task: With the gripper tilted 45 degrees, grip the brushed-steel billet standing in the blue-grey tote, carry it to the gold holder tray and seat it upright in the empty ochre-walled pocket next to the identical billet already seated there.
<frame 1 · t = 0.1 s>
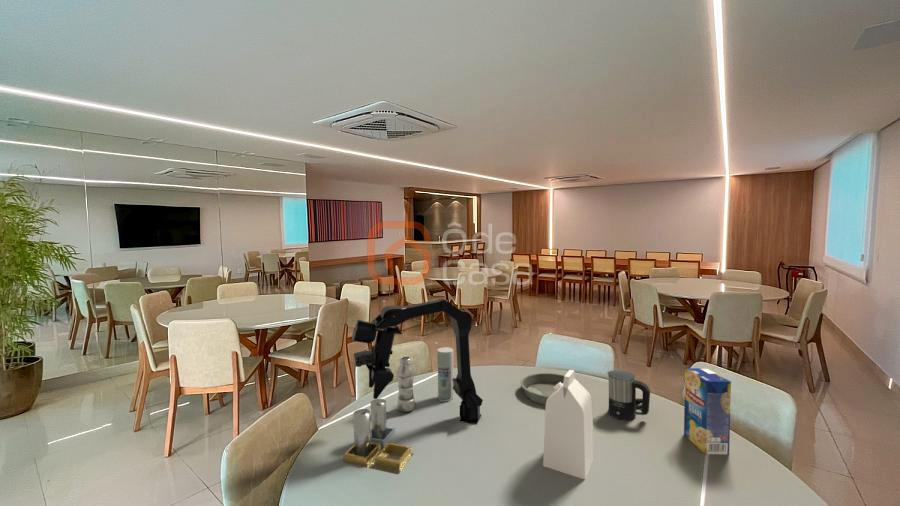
hand: (372, 392, 119), 15 cm above the table, tool pointing down, fingers open, 9 cm apart
billet: (378, 422, 118), in the tote
spray can: (446, 398, 149), on the table
blue cardboard box: (705, 444, 114), on the table
cake pan: (550, 394, 152), on the table
tote: (379, 441, 118), on the table
gold holder tray: (378, 461, 108), on the table
milk frother: (627, 411, 136), on the table
billet twin: (362, 455, 109), point 1 cm above the table, touching gold holder tray
milk: (569, 461, 107), on the table
plastic bottle: (406, 410, 139), on the table
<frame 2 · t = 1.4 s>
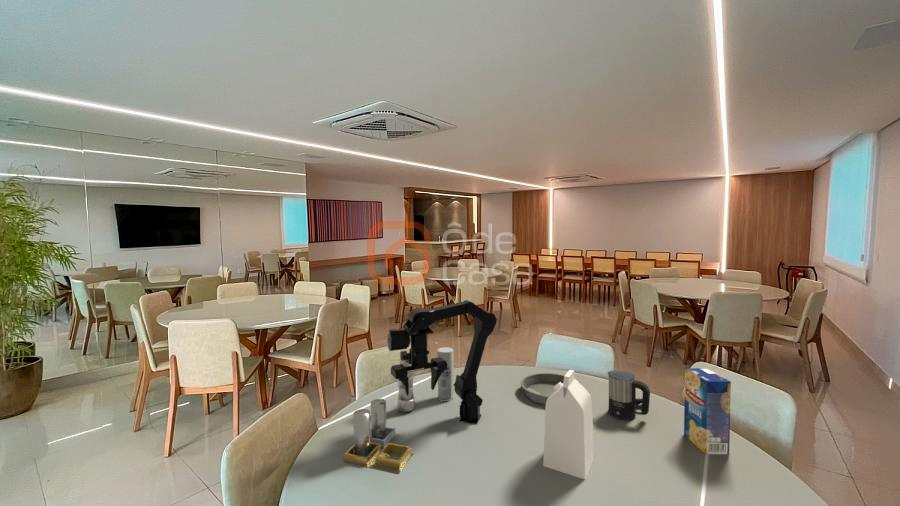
hand: (420, 392, 125), 13 cm above the table, tool pointing down, fingers open, 9 cm apart
nothing on the table moved.
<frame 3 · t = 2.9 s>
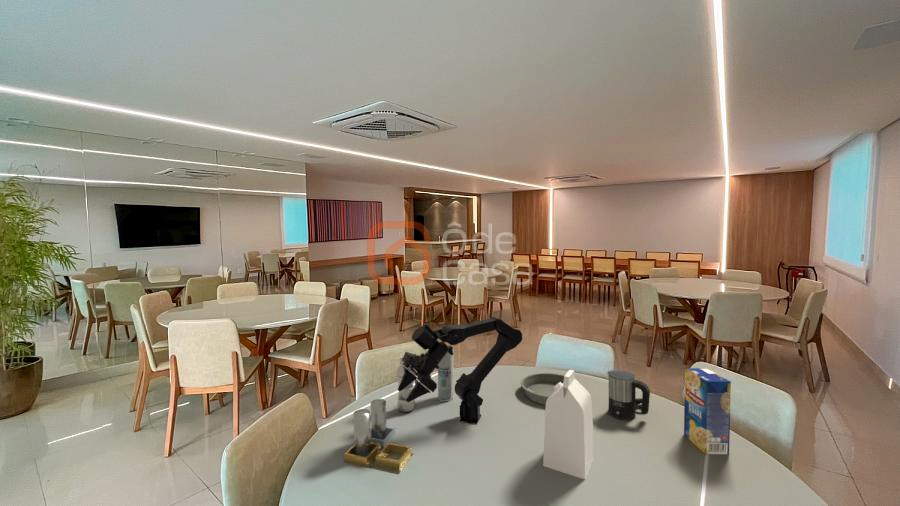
hand: (402, 395, 121), 13 cm above the table, tool tilted 45°, fingers open, 9 cm apart
nothing on the table moved.
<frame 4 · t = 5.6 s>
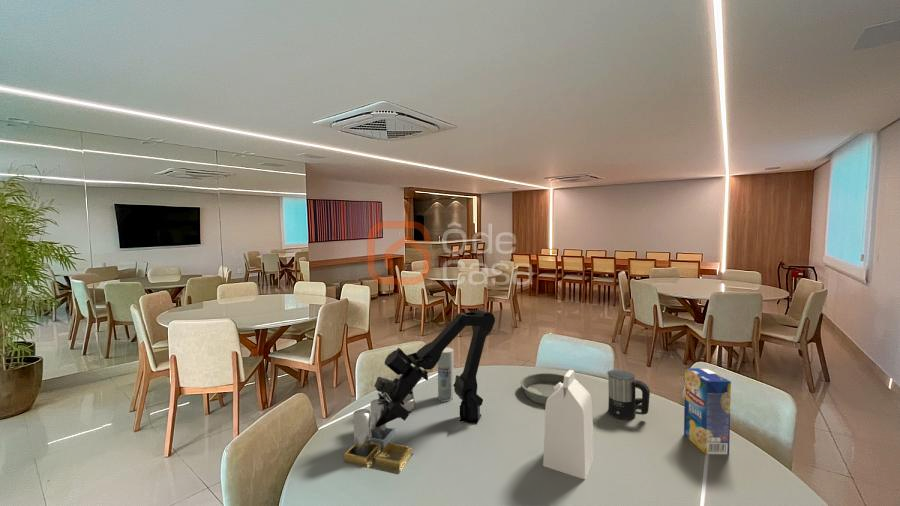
hand: (374, 422, 117), 7 cm above the table, tool tilted 45°, fingers closed on billet, 5 cm apart
billet: (378, 422, 118), in the tote, touching gripper
everything else where it was.
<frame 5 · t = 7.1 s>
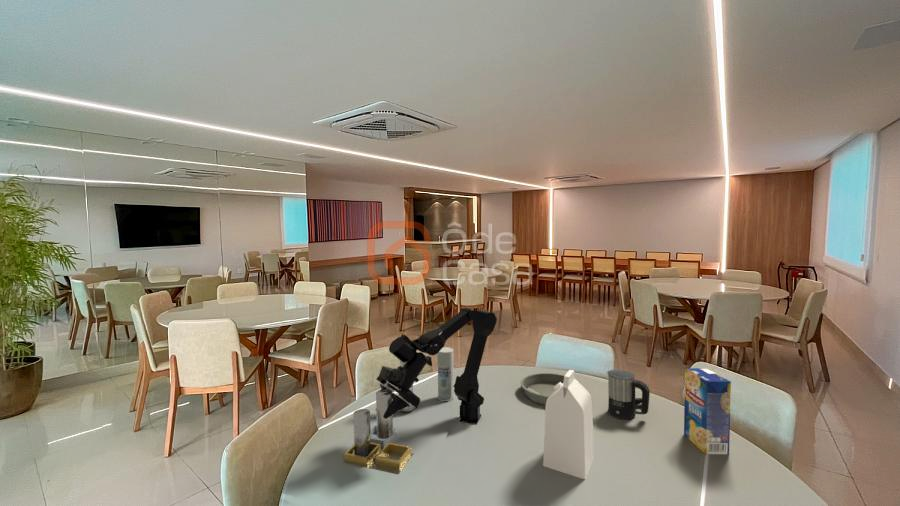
hand: (380, 414, 110), 12 cm above the table, tool tilted 45°, fingers closed on billet, 5 cm apart
billet: (384, 413, 111), point 12 cm above the table, touching gripper
everything else where it was.
when the fingers open (9 cm above the table, at t = 8.7 s): billet drops 1 cm, resting on gold holder tray.
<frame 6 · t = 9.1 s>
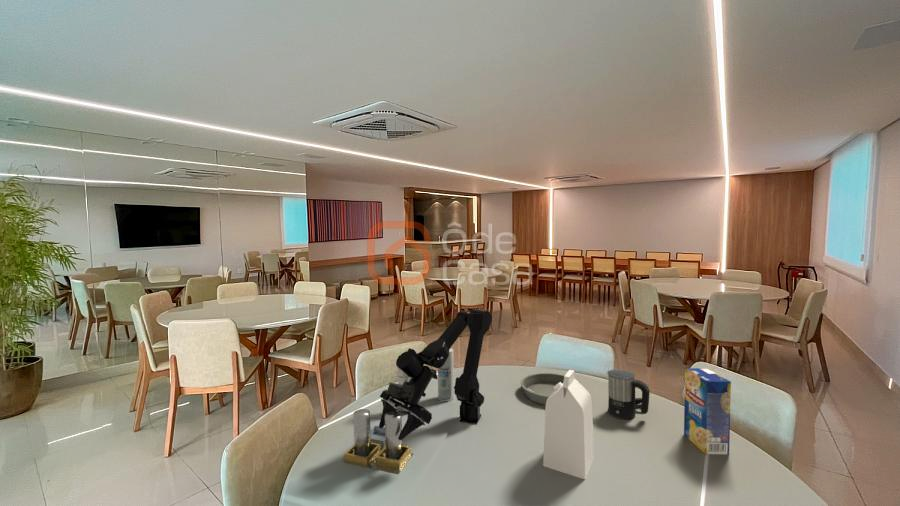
hand: (389, 433, 106), 9 cm above the table, tool tilted 45°, fingers open, 9 cm apart
billet: (393, 436, 107), in the gold holder tray, point 8 cm above the table
everything else where it was.
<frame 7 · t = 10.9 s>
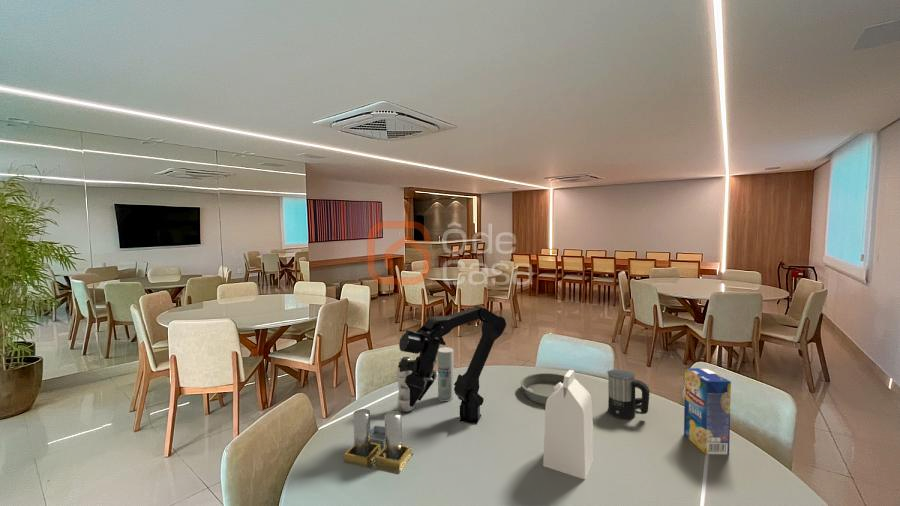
hand: (415, 403, 120), 11 cm above the table, tool tilted 20°, fingers open, 9 cm apart
nothing on the table moved.
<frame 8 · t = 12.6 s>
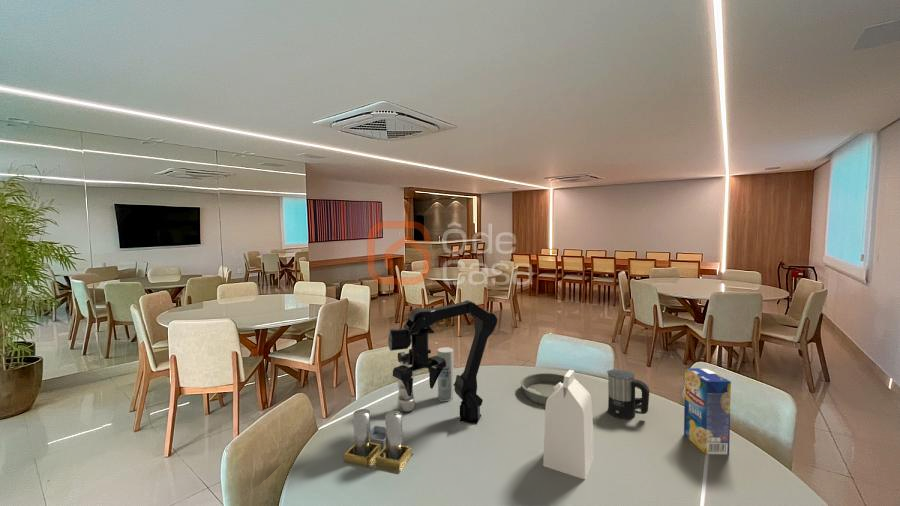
hand: (420, 392, 125), 13 cm above the table, tool pointing down, fingers open, 9 cm apart
nothing on the table moved.
at the end: billet 0.1 cm from the target spot on the gold holder tray, point 7.5 cm above the gold holder tray's base; billet tilted 1°; billet twin moved 0.0 cm from its start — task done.
